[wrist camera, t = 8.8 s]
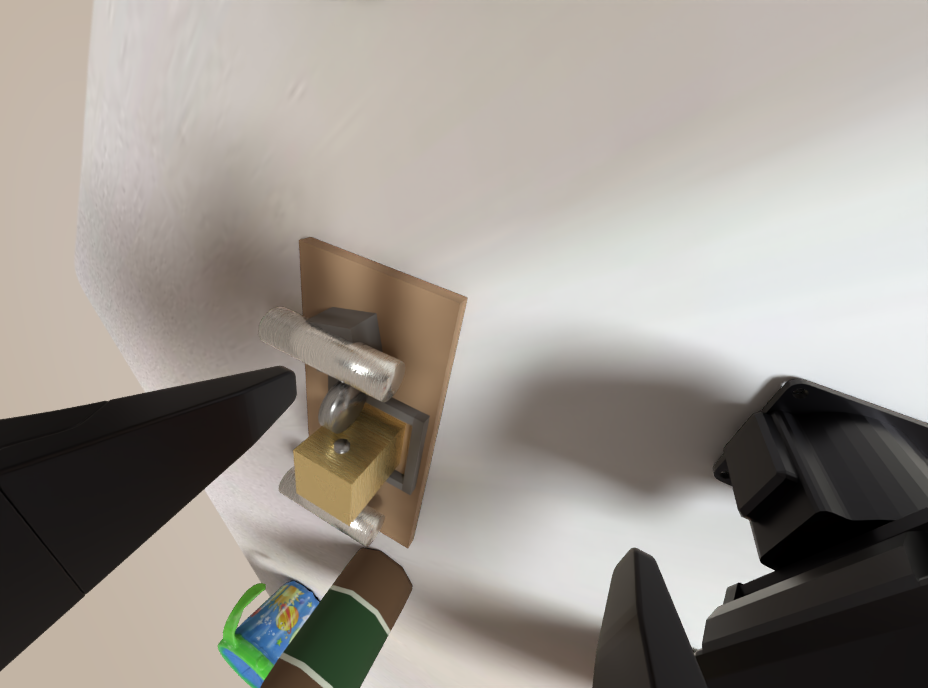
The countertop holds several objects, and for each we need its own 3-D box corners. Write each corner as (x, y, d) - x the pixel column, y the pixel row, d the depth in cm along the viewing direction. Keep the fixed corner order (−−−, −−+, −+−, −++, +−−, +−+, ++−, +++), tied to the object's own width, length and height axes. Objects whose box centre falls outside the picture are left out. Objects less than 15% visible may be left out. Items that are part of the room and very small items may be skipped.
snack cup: (261, 552, 55) (193, 623, 47) (309, 568, 50) (241, 651, 41) (304, 619, 60) (250, 693, 52) (351, 640, 55) (298, 725, 47)
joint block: (399, 465, 29) (349, 528, 24) (353, 440, 30) (296, 495, 25) (406, 420, 26) (351, 481, 22) (355, 394, 28) (292, 446, 23)
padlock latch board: (467, 297, 21) (439, 320, 18) (413, 539, 35) (392, 573, 32) (310, 237, 24) (265, 248, 21) (318, 482, 38) (291, 508, 35)
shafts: (411, 349, 22) (375, 380, 19) (386, 521, 32) (360, 558, 29) (296, 298, 24) (248, 318, 22) (306, 473, 34) (275, 503, 32)
